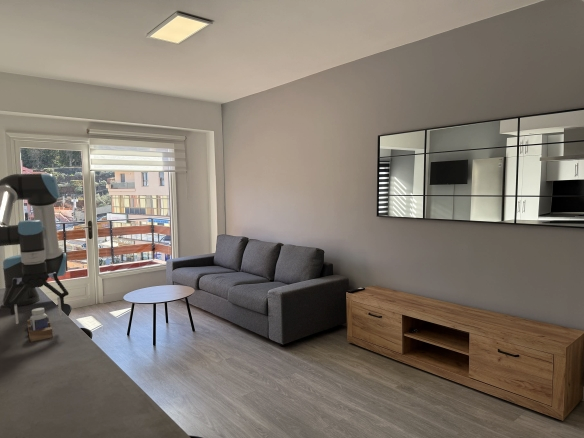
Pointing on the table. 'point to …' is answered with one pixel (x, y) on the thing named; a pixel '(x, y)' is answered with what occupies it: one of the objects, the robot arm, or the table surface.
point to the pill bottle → (38, 319)
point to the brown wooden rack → (40, 332)
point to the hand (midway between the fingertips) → (39, 318)
